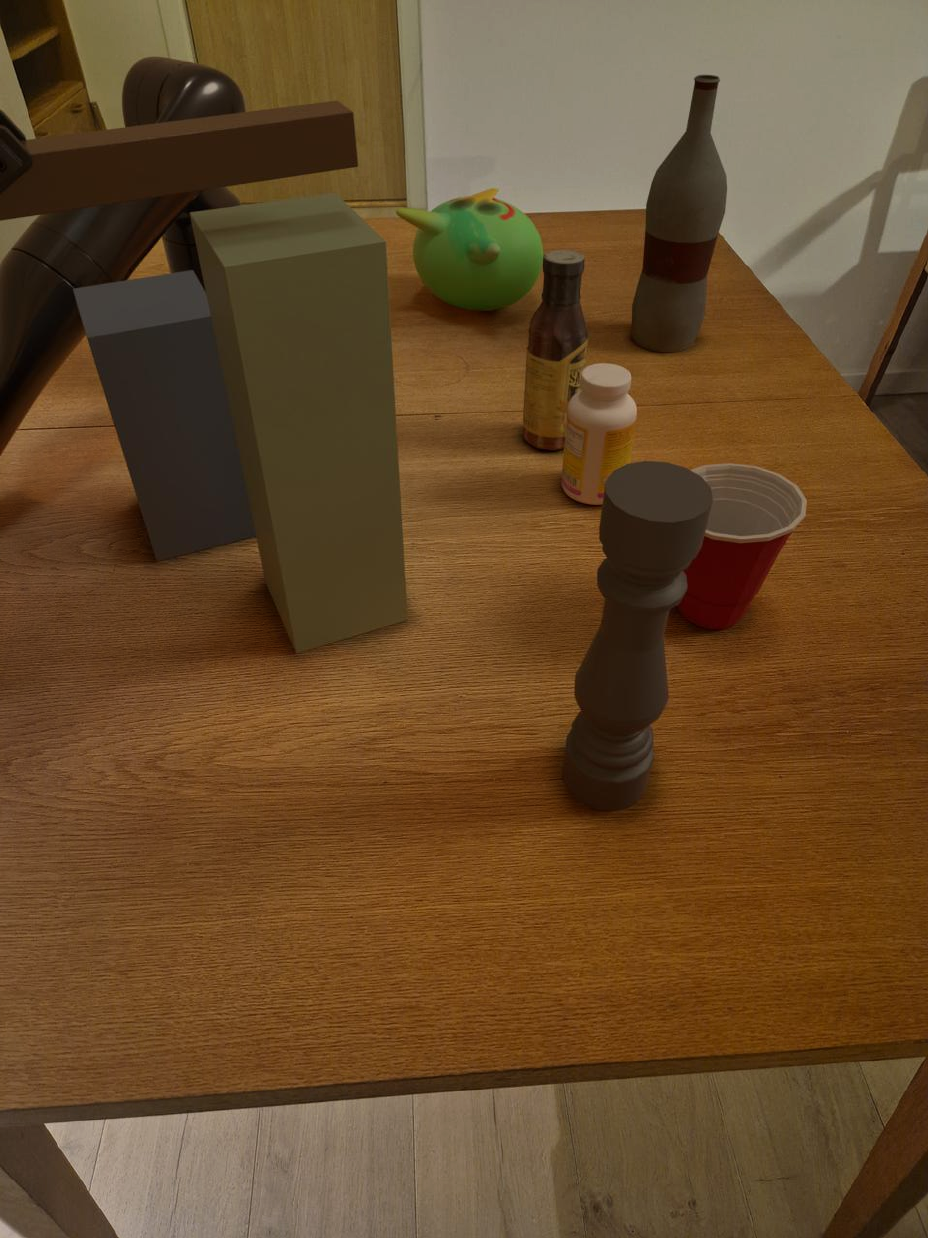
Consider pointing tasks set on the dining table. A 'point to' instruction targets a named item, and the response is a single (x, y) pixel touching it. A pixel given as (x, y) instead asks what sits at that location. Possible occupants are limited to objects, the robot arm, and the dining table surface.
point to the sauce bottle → (555, 351)
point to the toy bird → (476, 251)
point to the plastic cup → (738, 541)
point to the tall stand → (311, 406)
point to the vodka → (681, 232)
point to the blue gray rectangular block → (169, 409)
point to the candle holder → (632, 628)
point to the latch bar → (180, 157)
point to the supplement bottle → (597, 431)
